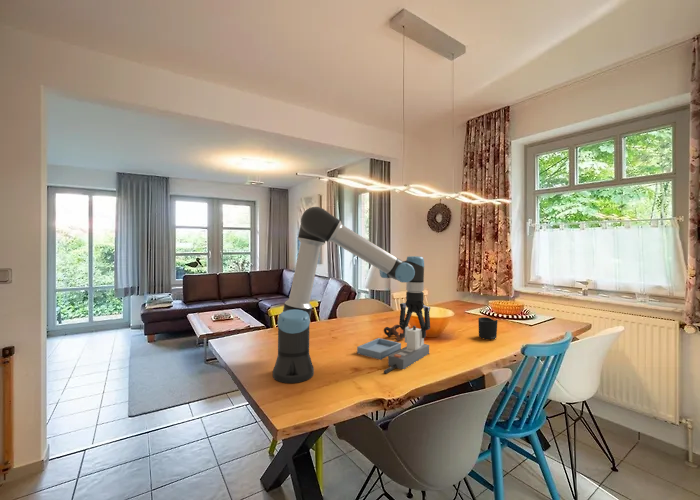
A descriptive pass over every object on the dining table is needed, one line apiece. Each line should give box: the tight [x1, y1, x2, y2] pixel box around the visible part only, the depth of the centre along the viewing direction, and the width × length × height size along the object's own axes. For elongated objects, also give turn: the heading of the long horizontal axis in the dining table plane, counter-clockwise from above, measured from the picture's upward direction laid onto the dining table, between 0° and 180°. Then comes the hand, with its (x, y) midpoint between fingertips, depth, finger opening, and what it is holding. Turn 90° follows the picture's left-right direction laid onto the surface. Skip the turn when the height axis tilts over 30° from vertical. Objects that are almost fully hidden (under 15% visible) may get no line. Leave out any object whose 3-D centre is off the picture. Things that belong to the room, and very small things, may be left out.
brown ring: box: [383, 324, 405, 342], centre depth 166 cm, size 12×10×8 cm
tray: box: [356, 337, 402, 361], centre depth 146 cm, size 18×13×3 cm
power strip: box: [383, 343, 430, 375], centre depth 133 cm, size 32×7×5 cm, turn 142°
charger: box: [406, 325, 421, 350], centre depth 140 cm, size 6×4×12 cm, turn 142°
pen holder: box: [477, 316, 498, 340], centre depth 170 cm, size 9×9×10 cm
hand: (414, 343), depth 140 cm, fingers open, 6 cm apart
